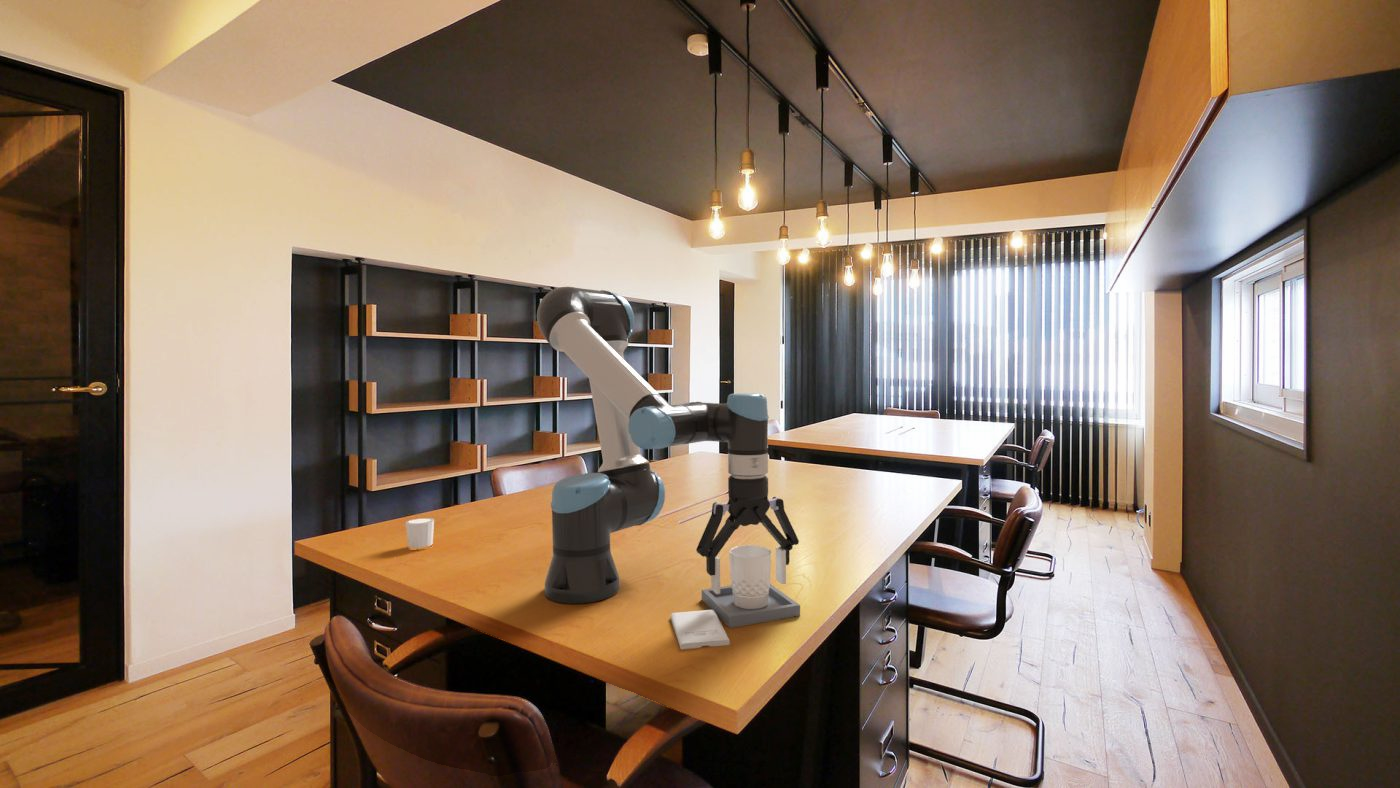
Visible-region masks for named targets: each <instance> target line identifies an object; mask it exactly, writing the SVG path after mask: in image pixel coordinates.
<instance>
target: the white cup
mask: <svg viewBox="0 0 1400 788" xmlns="http://www.w3.org/2000/svg"><path fill="white" fill-rule="evenodd" d="M728 551H729V552H728V553H729V568H730V580H731V581H730V582H731V583H730V584H731V585H732V590H733V591H732V594H733V603H734V604H735V606H737V607H740V608H743V609H760V608H763V607H765V606H767V605H768V601H769V589H770V584H771V571H772V570H771V565H772V564H771V562H772V551H771V549H770V548H768V547H765V546H761V545H755V544H745V545H744V544H743V545H742V544H741V545H736V546H734V547H732V548H730V549H729V550H728ZM731 585H730V586H731Z"/></svg>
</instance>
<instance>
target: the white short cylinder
mask: <svg viewBox="0 0 1400 788" xmlns="http://www.w3.org/2000/svg"><path fill="white" fill-rule="evenodd" d="M434 527H435V518H432V517H420V518H413V519H410V520H407V521H405V531H406V536H407V537H406V538H407V544H408V548H409V547H411V548H421V547H427V546H430V545H432V544H433V543H434V530H435V529H434Z"/></svg>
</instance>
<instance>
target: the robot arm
mask: <svg viewBox="0 0 1400 788" xmlns="http://www.w3.org/2000/svg"><path fill="white" fill-rule="evenodd" d="M536 322H537V325H538V330H539V331H540V333H541V335H542V337H543V338H544V339H545V340H546V342H547V343H548V344H549V345H550V346H551V347H552V348H553V349H554V350H555V351H558V352H563V353H565V355H567V357H568V358H569V359H570V360H571V361H572V362H573V364H574V365H576V366H577V367H578V369H580V371H582V373H583V374H584V375H585V376H586V377H587V378H588V379H589V387H590V390H591V391H590V392H591V397H592V399H591V400H592V403H593V409H594V415H595V420H596V421H595V422H596V427H597V433H598V439H599V445H600V451H601V457H602V464H601V465H600V467H599V468H598V470H597V472H586V473H583V474H582V473H579V474H573V475H570V476H568V477H564V478H563V479H560V480H559V481H557V482H556V483H555V484H554V485H553V488H552V489H551V492H552V493H551V502H550V508H551V515H552V516H551V519H552V520H551V525H552V527H551V528H552V558H551V560H550V564H549V567H548V571H547V574H546V577H545V580H544V595H545V597H546V598H547V599H548V598H549V599H548V600H550V601H553V602H556V603H561V604H571V605H573V604H577V605H579V604H587V603H588V604H589V603H594V602H598V601H602V600H605V599H607V598H611V597H612V596H614V595H616V594H617V592H618V591H620V575H619V571H618V570H617V566H616V564H615V560H614V558H613V555H612V551H611V534H613V533H615V532H618V531H622V530H626V529H629V528H632V527H637V526H642V525H644V524H646V523H648V522H651V521H652V520H654V519H656V518H657V516H659V515H660V512H661V511H662V510H663V507H664V505H665V500H666V489H665V485H664V482H663V479H662V477H660V476H659V474H658V473H657V472H656V471H654V470H651V465H650V461H649V460H648V459H647V458H645V457H644V456H643V455H642V454H641V449H643V450H661V449H666V448H668V447H670V448H671V447H675V446H681V445H688V444H696V443H701V442H721V443H727V472H728V474H729V476H728V477H727V478H728V480H727V486H728V487H727V488H728V493H727V495H728V501H727V502H726V503H719V502H717V501H716V502H713V504H712V506H711V515H710V517H709V520H708V522H707V524H706V527H705V528H704V530H703V532H702V535H701V537H700V540H699V542H698V545H697V547H696V553H697V554H699V555H700V556H702V557H703V558H704V557H705V558H706V560H705V562H706V573H707V574H708V575H709V576H710V586H711V587H710V588H711V590H713V591H714V592H715V593H716V594H720V587H721V558H720V557H718V555H719V554H720V552H721V550H722V549H723V548H724V546H725V545H726V543H727V542H728V540H729V539H730V538H731V537H732V535H733V533H734V532H735V531H736V530H738V529H739V528H740V526H742V527H747V526H750V525H753V526H758V525H759V524H761V525H762V526H763V527H764V528H765V529H766V531H767V532H768V533H769V534H770V535H771V536H772V537H773V539H774V541H776V542H777V544H778V545H779V546H778V545H777V546H775V581H777V582H779V583H780V584H781V585H786V584H787V566H789V564H790V551H792V550H793V546H796V545H799V542H800V541H799V539H798V538H799V537H798V536H797V533H796V532H795V529H794V528H793V527H794V526H792V523H791V521H790V520H789V517H788V515H787V512H786V511H785V503H784V499H782V498H780V497H777V496H773V497H772V498H771V499H769V477H767V474H768V472H769V452H768V451H769V449H768V437H769V436H768V433H769V432H768V428H769V427H768V425H769V424H768V422H769V418H770V417H769V415H768V412H769V411H768V401H767V397H766V395H765V394H763V393H756V392H755V393H754V392H753V393H744V392H743V393H739V392H738V393H731V394H730V393H729V395H728V396H727V399H726V400H727V402H726V403H716V402H715V403H714V402H702V401H691V402H684V403H682V404H670V403H669V402H668V401H667V400H666V399H665V398H664V397H663V396H661V394H659V393H658V392H657V391H656V390H655V389H654V388H653V387H652V386H651V384H649V383H648V382H647V381H646V380H645V379H644V377H642V376H641V375H640V374H639V373H638V372H637V371H636V369H634V368H633V366H632V365H630V363H628V362H627V361H626V360H625V357H624V351H625V350H626V349H627V348H628V346H629V341H628V339H629V338H630V337H631V336H632V333H633V328H634V327H635V315H634V311H633V308H632V306H631V305H630V303H629V301H627V299H626V298H625V297H623V296H622V295H621V294H618V293H616V292H615V293H614V292H611V291H608V290H604V289H601V290H598V289H588V288H581V287H580V288H579V287H575V286H574V287H573V286H559V287H557V288H555V289H552V290H551V291H549V292H547V293H546V294H545V296H543V298H542V299H541V301H540V302H539V305H538V308H537V311H536ZM769 509H771V510H773V513H774V515H775V517H776V519H777V521H778V523H779V526H780V527H781V529H782V531H783V533H784V535H783V533H782V532H780V530H779V529H778V528H777V527H776V526H775V524H774V523H773V522H772V520H771V519H770V518H769V517H768V515H767V512H768V511H769ZM726 512H728V514H729V516H728V517H727V518H726V520H725V522H724V525H723V526H722V527H721V529H720V530H719V531H718V529H719V528H720V525H721V522H722V519H723V517H724V516H725V514H726ZM717 531H718V533H717Z"/></svg>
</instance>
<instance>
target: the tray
mask: <svg viewBox="0 0 1400 788" xmlns="http://www.w3.org/2000/svg"><path fill="white" fill-rule="evenodd" d="M732 591H733V590H732V585H725V586H720V594H716V593H715V592H714V591H713V590H711V587H710V588H704V589H701V601H702V602H704V603H705V605H706V606H707V607H708V608H709V610H714V611H715V613H716V615H717V617H718V618H719V620H721V621H722V622H723V623H724V624H725V625H726V626H727V627H728V628H729V629H732V628H737V627H743V626H748V625H754V624H755V625H756V624H760V623H768V622H771V621H778V620H779V621H780V620H785V619H790V618H795V617H794V616H796V617H800V616H801V605H800V604H799V603H798V602H796V601H795V600H793V599H792V598H791V597H789V596H788V595H787V594H785V593H784V592H782V591H781V590H779V588H777V587H775V585H772V583H770V589H769V601H768V605H767V606H765V607H763V608H760V609H743V608H740V607H737V606H735V604H734V603H733V594H732Z"/></svg>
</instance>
